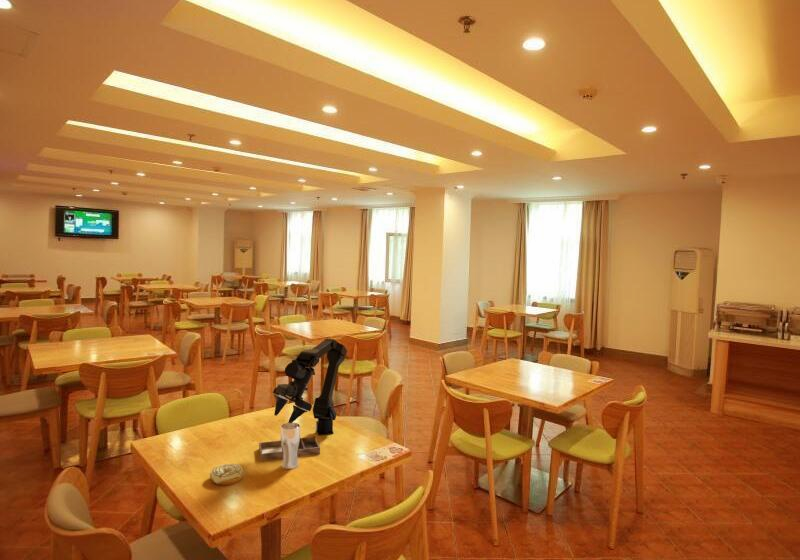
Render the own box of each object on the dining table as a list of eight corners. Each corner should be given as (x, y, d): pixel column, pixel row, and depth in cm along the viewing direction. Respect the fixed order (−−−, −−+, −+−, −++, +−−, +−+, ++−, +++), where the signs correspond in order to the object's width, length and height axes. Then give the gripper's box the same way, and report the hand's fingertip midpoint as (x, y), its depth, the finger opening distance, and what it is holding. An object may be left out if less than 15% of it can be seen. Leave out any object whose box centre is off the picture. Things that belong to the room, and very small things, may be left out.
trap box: (315, 442, 192) (315, 436, 192) (319, 453, 181) (320, 447, 181) (259, 448, 185) (259, 442, 184) (260, 460, 174) (260, 454, 174)
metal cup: (303, 463, 173) (304, 424, 172) (291, 471, 166) (292, 430, 166) (288, 459, 176) (288, 421, 175) (276, 467, 169) (276, 427, 168)
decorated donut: (214, 490, 153) (214, 479, 152) (207, 476, 161) (207, 466, 161) (246, 482, 158) (246, 471, 158) (237, 469, 167) (237, 459, 167)
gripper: (272, 369, 184) (253, 406, 180) (301, 383, 172) (281, 423, 168) (292, 377, 192) (274, 413, 188) (320, 391, 180) (302, 430, 176)
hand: (282, 419), depth 180 cm, fingers open, 9 cm apart
